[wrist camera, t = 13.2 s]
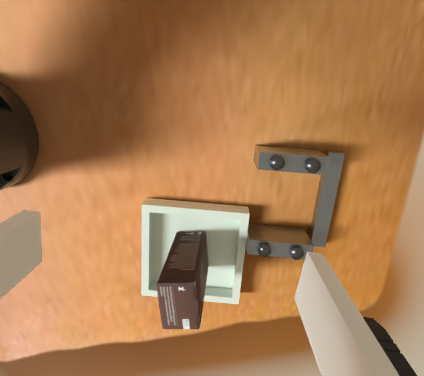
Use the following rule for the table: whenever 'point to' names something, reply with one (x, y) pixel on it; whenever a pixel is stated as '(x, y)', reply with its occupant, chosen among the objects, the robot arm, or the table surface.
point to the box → (184, 281)
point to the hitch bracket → (330, 175)
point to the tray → (216, 243)
